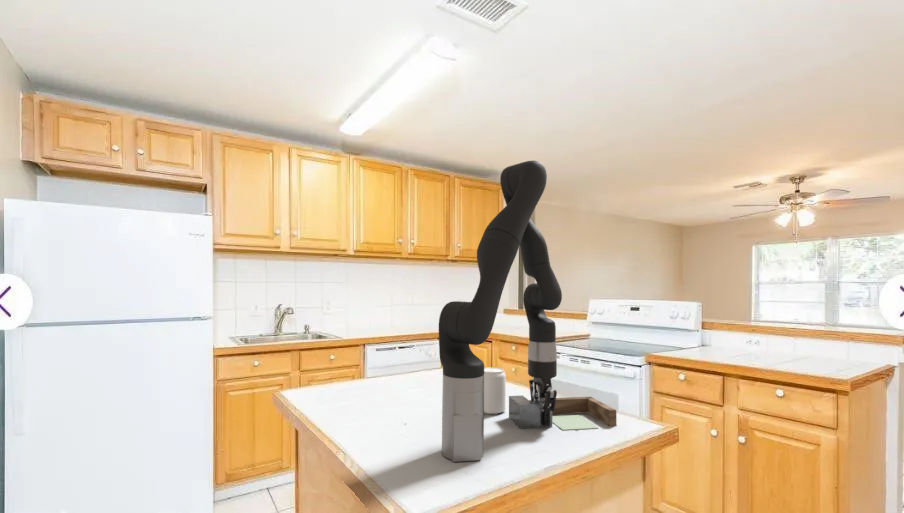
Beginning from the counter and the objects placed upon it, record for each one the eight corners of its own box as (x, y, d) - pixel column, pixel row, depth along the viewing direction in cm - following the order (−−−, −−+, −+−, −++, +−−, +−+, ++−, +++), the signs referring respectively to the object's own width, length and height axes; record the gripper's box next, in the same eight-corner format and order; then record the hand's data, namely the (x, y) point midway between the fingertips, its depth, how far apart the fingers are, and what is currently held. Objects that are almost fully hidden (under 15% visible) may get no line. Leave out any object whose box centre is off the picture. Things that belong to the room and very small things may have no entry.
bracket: (519, 428, 115) (519, 404, 115) (508, 417, 123) (508, 395, 124) (552, 426, 116) (552, 403, 117) (539, 416, 125) (539, 394, 125)
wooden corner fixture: (616, 425, 118) (616, 410, 118) (552, 428, 115) (552, 413, 115) (590, 410, 132) (590, 396, 132) (533, 412, 128) (533, 398, 129)
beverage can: (506, 415, 126) (507, 372, 126) (478, 415, 126) (478, 372, 126) (504, 407, 134) (504, 367, 134) (477, 406, 134) (477, 366, 135)
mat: (598, 428, 115) (598, 427, 115) (562, 430, 114) (562, 429, 114) (578, 415, 126) (578, 415, 126) (545, 417, 124) (545, 416, 124)
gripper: (566, 362, 112) (567, 431, 112) (545, 353, 126) (545, 414, 126) (538, 363, 111) (538, 433, 110) (520, 353, 125) (519, 415, 124)
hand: (542, 422), depth 118 cm, fingers closed on bracket, 4 cm apart
